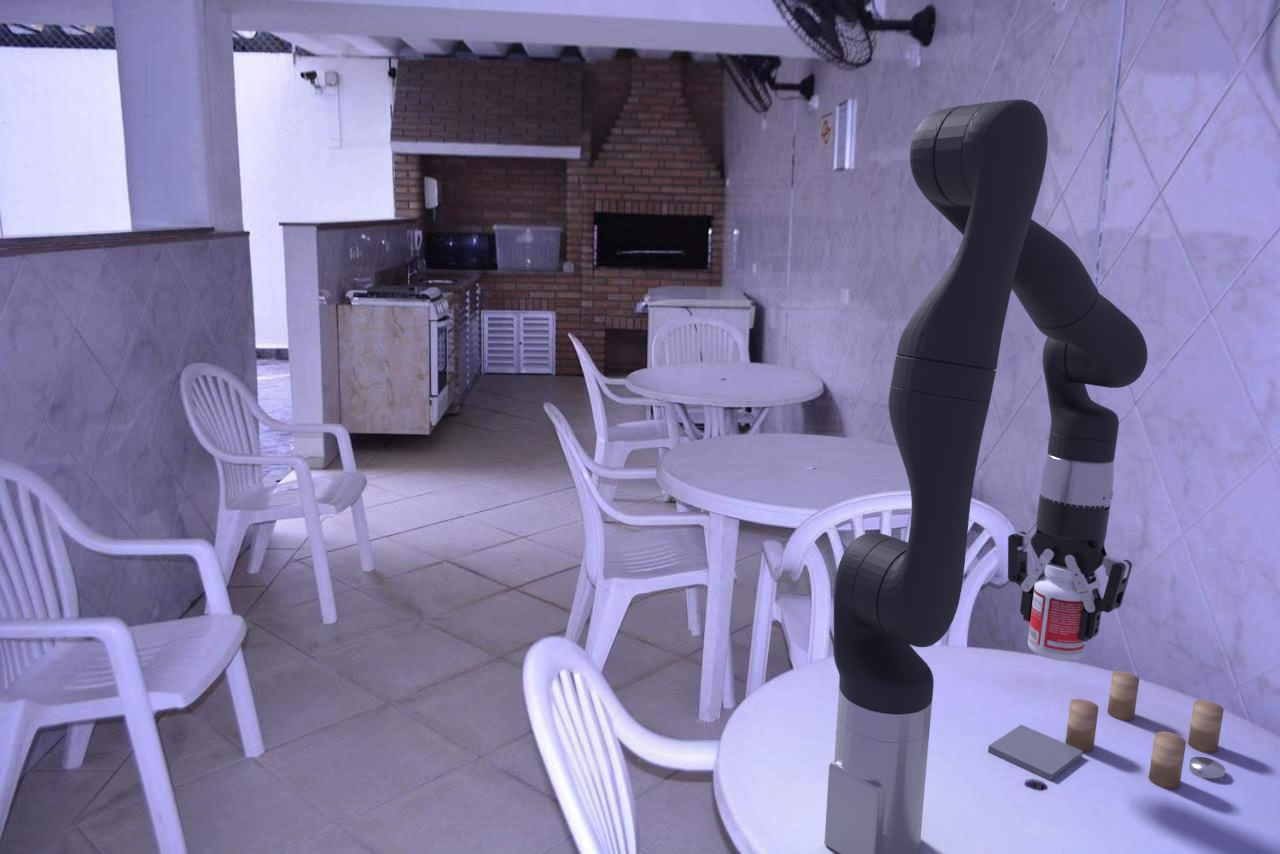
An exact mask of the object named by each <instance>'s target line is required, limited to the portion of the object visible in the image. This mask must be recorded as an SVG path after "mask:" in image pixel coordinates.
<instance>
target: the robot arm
mask: <svg viewBox="0 0 1280 854" xmlns="http://www.w3.org/2000/svg"><path fill="white" fill-rule="evenodd" d="M1048 139H1049V137H1048V126H1047V123H1046V119H1045V117H1044V114H1043V113H1042V111H1041V110H1040V108H1039V107H1038V105H1036V104H1035V103H1033V102H1032V101H1030V100H1027V99H1018V98H1017V99H1006V100H997V101H990V102H989V101H988V102H987V101H986V102H980V103H974V104H973V103H972V104H967V105H966V104H964V105H958V106H952V107H946V108H943V109H939V110H936V111H934V112H932V113H930V114H929V115H928V116H926V117H924V119H923V120H921V122H920V123H919V125H918V126H917V128H916V129H915V132H914V133H913V136H912V139H911V143H910V149H909V165H910V169H911V174H912V176H913V179H914V181H915V184H916V186H917V187H918V189H919V190H920V192H921V193H922V195H923V196H924V197H925V199H926V200H927V201H928V202H929V203H930V204H931V205H932V206H933V207H934V208H935V209H936V210H937V211H938V212H939V213H940V214H941V215H942V216H944V218H945V219H946V220H947V221H949V222H950V224H952V225H953V226H954V228H955V229H956V230H958V231H959V233H960V234H961V235H962V239H961V242H960V245H959V248H958V250H957V252H956V254H955V256H954V259H953V260H952V261H951V263H950V265H949V267H948V269H947V270H946V271H945V272H944V274H943V275H942V277H941V278H940V280H939V281H938V282H937V284H936V285H935V286H934V287H933V289H932V290H931V291H930V292H929V294H927V296H926V297H925V299H924V300H923V301H922V303H921V304H920V305H919V306H918V308H917V309H916V311H915V312H914V313H913V314H912V316H911V318H910V319H909V321H908V323H907V325H905V328H904V329H903V331H902V334H901V336H900V337H899V338H900V339H899V341H898V346H897V349H896V356H895V358H894V365H893V371H892V376H891V382H890V387H889V395H888V413H889V419H890V424H891V428H892V431H893V435H894V439H895V442H896V444H897V448H898V451H899V454H900V457H901V460H902V462H903V466H904V469H905V472H906V476H907V479H908V485H909V490H910V497H911V498H910V499H911V513H910V514H911V515H910V526H909V534H908V541H905V540H902V539H899V538H897V537H894V536H891V535H889V534H884V533H880V532H867V533H864V534H861V535H859V536H858V537H856V538H855V539H854V540H853V541H851V542H850V544H849V545H848V546H847V547H846V549H845V551H844V552H843V554H842V556H841V558H840V561H839V563H838V566H837V570H836V575H835V579H834V590H833V659H834V663H835V667H836V668H837V673H838V675H839V680H838V682H839V683H838V700H837V712H836V713H837V714H836V729H835V730H836V731H835V745H834V758H833V759H834V760H833V761H832V762H830V763H829V765H828V778H827V779H828V780H827V795H826V796H827V797H826V810H825V813H826V814H825V829H824V845H825V846H827V847H829V848H831V849H832V850H833V851H835V852H836V853H837V854H920V849H921V839H922V829H923V827H922V826H923V814H924V803H925V802H924V801H925V789H926V779H927V778H926V777H927V767H928V765H927V764H928V752H929V741H930V728H931V717H932V709H933V708H932V707H933V696H934V687H935V686H934V685H935V684H934V683H935V682H934V679H935V678H934V675H933V671H932V669H931V668H930V665H929V664H928V663H927V662H926V661H925V660H924V659H923V658H922V657H921V656H920V655H919V654H918V653H917V651H915V649H914V648H913V647H917V648H927V647H931V646H934V645H935V644H937V642H939V641H941V639H942V638H943V637H944V636H945V635H946V633H947V632H948V631H949V629H950V627H951V625H952V623H953V621H954V619H955V616H956V614H957V611H958V608H959V603H960V598H961V593H962V590H963V583H964V582H963V581H964V573H965V565H966V557H967V556H966V553H967V545H968V544H967V543H968V531H969V521H970V514H971V513H970V510H971V504H972V497H973V490H974V489H973V488H974V481H975V477H976V471H977V466H978V459H979V453H980V448H981V443H982V438H983V434H984V431H985V430H984V429H985V425H986V420H987V415H988V412H989V408H990V403H991V399H992V394H993V390H994V389H993V388H994V384H995V379H996V373H997V371H996V370H997V367H998V361H999V355H1000V349H1001V342H1002V335H1003V331H1004V325H1005V321H1006V316H1007V312H1008V307H1009V303H1010V296H1011V292H1012V291H1013V294H1015V296H1016V297H1017V299H1018V301H1019V302H1020V304H1021V305H1022V307H1023V308H1024V310H1025V312H1026V313H1027V315H1028V316H1029V318H1030V319H1031V321H1032V322H1033V324H1034V325H1035V327H1036V328H1037V330H1039V331H1040V333H1042V334H1043V335H1044V336H1046V337H1047V338H1046V340H1045V342H1044V345H1043V349H1042V350H1043V351H1042V368H1043V369H1042V370H1043V374H1044V379H1045V380H1044V381H1045V385H1046V392H1047V397H1048V405H1049V413H1050V420H1051V421H1050V428H1049V436H1048V444H1047V453H1046V457H1045V461H1044V465H1043V468H1042V473H1041V480H1040V482H1041V483H1040V489H1039V496H1038V506H1037V513H1036V520H1035V526H1036V530H1035V532H1034V534H1033V535H1031V534H1027V532H1025V531H1021V530H1020V531H1018V532H1015V533H1013V534H1010V535H1008V539H1007V579H1008V580H1009V582H1011V583H1016V584H1017V585H1018V586H1019V587H1020V588H1021V600H1020V607H1019V612H1020V614H1021V615H1022V616H1023V617H1022V619H1023V621H1025V622H1027V623H1030V619H1031V611H1032V602H1033V594H1034V586H1035V583H1036V581H1037V580H1038V579H1040V578H1041V577H1043V576H1045V574H1044V573H1043V572H1044V570H1045V567H1046V564H1050V563H1052V564H1055V565H1059V566H1062V567H1066V568H1068V569H1069V570H1070V571H1071V576H1072V579H1073V582H1074V584H1075V587H1076V590H1077V592H1078V593H1079V594H1080V595H1081V598H1082V601H1083V604H1084V607H1085V610H1083V611H1082V617H1081V624H1080V631H1079V640H1082V641H1085V643H1087V642H1089V641H1090V640H1092V639H1093V638H1094V637H1097V636H1098V634H1099V632H1100V631H1099V630H1100V623H1101V617H1102V612H1104V613H1110V612H1113V611H1114V610H1116V609H1119V608H1120V607H1121V606H1122V603H1123V599H1124V597H1125V593H1126V589H1127V585H1128V582H1129V578H1130V576H1131V572H1132V568H1133V564H1132V562H1131V561H1130V560H1128V559H1124V560H1123V559H1122V560H1120V559H1117V558H1114V557H1113V556H1110V555H1108V553H1107V551H1106V549H1105V548H1106V547H1105V540H1106V537H1107V532H1108V525H1109V518H1110V517H1109V516H1110V510H1111V503H1112V499H1113V496H1114V489H1113V488H1114V480H1115V475H1114V472H1115V471H1114V465H1115V461H1114V460H1115V457H1116V456H1115V455H1116V448H1117V443H1118V442H1117V441H1118V434H1119V426H1120V425H1119V424H1120V421H1119V416H1118V414H1117V413H1116V412H1115V411H1113V410H1112V409H1109V408H1108V407H1107V406H1104V405H1102V404H1099V403H1098V402H1096V401H1094V400H1093V399H1091V396H1090V395H1089V393H1088V389H1087V386H1086V385H1089V386H1097V387H1101V388H1102V387H1103V388H1109V389H1110V388H1111V389H1118V388H1123V387H1128V386H1130V385H1132V384H1133V383H1135V382H1136V381H1137V380H1138V379H1139V378H1140V377H1141V376H1142V375H1143V373H1144V371H1145V369H1146V367H1147V364H1148V358H1149V357H1148V345H1147V343H1146V339H1145V338H1144V335H1143V333H1142V331H1141V329H1140V328H1139V327H1138V326H1137V325H1136V323H1135V322H1134V321H1132V319H1130V318H1129V317H1128V316H1127V315H1126V314H1125V313H1124V312H1122V310H1120V309H1119V308H1118V307H1117V306H1116V304H1114V303H1113V302H1111V301H1110V300H1109V299H1107V298H1106V297H1104V295H1103V294H1101V293H1100V292H1099V291H1098V288H1097V285H1095V283H1094V281H1093V279H1092V277H1091V275H1090V274H1089V272H1088V270H1087V268H1086V267H1085V265H1084V264H1083V262H1082V261H1081V259H1080V257H1079V256H1078V255H1077V254H1076V253H1075V251H1073V249H1072V248H1071V247H1069V245H1068V244H1067V243H1065V242H1064V241H1063V240H1062V239H1060V238H1059V237H1058V236H1056V235H1055V234H1054V233H1052V232H1051V231H1050V230H1048V229H1047V228H1045V227H1043V226H1042V225H1041V224H1040V223H1038V222H1036V221H1035V220H1034V219H1032V217H1033V214H1034V210H1035V207H1036V204H1037V200H1038V197H1039V195H1040V193H1039V192H1040V190H1041V186H1042V182H1043V180H1044V179H1043V178H1044V173H1045V169H1046V164H1047V158H1048V157H1047V156H1048V148H1049V147H1048V146H1049V145H1048V144H1049V142H1048V141H1049V140H1048ZM1031 547H1032V549H1033V551H1034V553H1035V555H1036V558H1037V561H1036V562H1035V563H1034V565H1033V566H1032V567H1031V569H1030V570H1029V572H1028V551H1030V550H1031ZM1101 566H1103V567H1104V569H1105V575H1106V576H1107V577H1108V579H1107V583H1106V586H1105V589H1104V594H1102V591H1101V582H1100V578H1099V576H1098V572H1097V570H1098V569H1099V568H1101ZM1085 578H1086V579H1085ZM912 646H913V647H912Z"/></svg>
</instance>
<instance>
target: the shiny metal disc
mask: <svg viewBox="0 0 1280 854" xmlns="http://www.w3.org/2000/svg"><path fill="white" fill-rule="evenodd" d="M1188 768H1189V769H1188V770H1189V771H1190V772H1191V773H1192V774H1193V775H1195V776H1196V777H1198V778H1200V777H1201V779H1203V780H1206V779H1207V780H1206V781H1211V780H1212V782H1219V780H1220V781H1222V780H1221V779H1223V778H1224V779H1225V773H1226V768H1225V766H1224V765H1223V764H1222V763H1221V762H1218V761H1217V760H1215V759H1212V758H1209V757H1204V756H1194V757H1192V758H1190V761H1189V767H1188ZM1224 779H1223V780H1224Z"/></svg>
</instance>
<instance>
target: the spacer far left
mask: <svg viewBox="0 0 1280 854" xmlns="http://www.w3.org/2000/svg"><path fill="white" fill-rule="evenodd" d="M1223 717H1224V708H1223V706H1221V705H1220V704H1218V703H1216V702H1214V701H1211V700H1206V699H1205V700H1204V699H1197V700H1194V702H1193V706H1192V713H1191V720H1190V726H1189V733H1188V740H1187V744H1188V745H1189V747H1191V748H1192V749H1193V750H1195V751H1198V752H1201V753H1205V752H1207V753H1206V754H1214V752H1215V753H1217V752H1218V748H1219V741H1220V737H1221V736H1220V735H1221V730H1222V729H1221V728H1222V723H1223ZM1216 751H1217V752H1216Z"/></svg>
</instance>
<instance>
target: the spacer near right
mask: <svg viewBox="0 0 1280 854" xmlns="http://www.w3.org/2000/svg"><path fill="white" fill-rule="evenodd" d="M1098 716H1099V706H1098V704H1096V703H1094V702H1093V701H1091V700H1088V699H1084V698H1074V699H1071V700H1070V702H1069V709H1068V717H1067V727H1066V735H1065V744H1068V745H1070V746H1072V747H1075V748H1077V749H1079V750H1082V751H1083V753H1090V752H1092V751H1093V750H1094V748H1095V747H1094V746H1095V740H1096V739H1095V738H1096V730H1097V724H1098V723H1097V722H1098Z"/></svg>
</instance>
